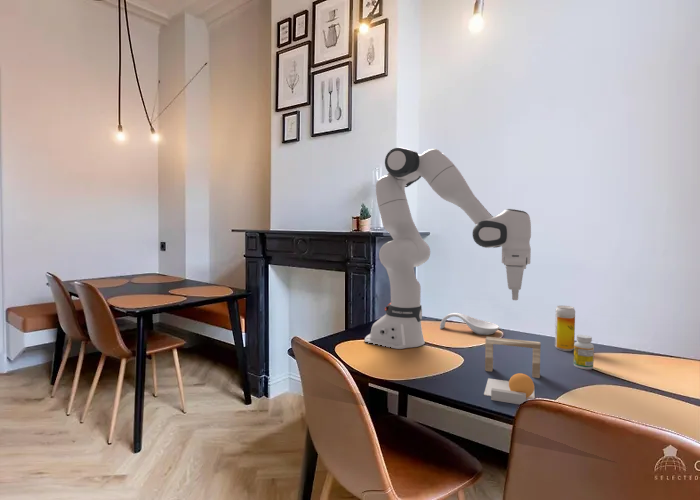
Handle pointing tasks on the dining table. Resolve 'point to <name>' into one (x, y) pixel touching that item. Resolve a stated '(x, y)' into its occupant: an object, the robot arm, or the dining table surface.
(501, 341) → the bridge
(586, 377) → the dining table surface
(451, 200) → the robot arm
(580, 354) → the supplement bottle
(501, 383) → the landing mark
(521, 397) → the block
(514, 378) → the ball
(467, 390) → the dining table surface
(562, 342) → the orange yellow canister
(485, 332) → the spoon rest
